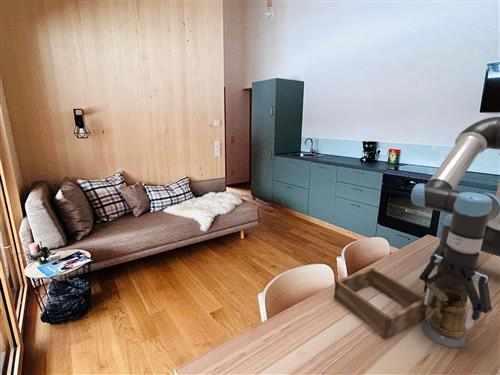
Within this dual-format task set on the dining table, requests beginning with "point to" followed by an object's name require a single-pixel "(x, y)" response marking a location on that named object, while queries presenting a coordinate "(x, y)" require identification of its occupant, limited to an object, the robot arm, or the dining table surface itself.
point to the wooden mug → (448, 312)
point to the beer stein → (448, 285)
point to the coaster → (441, 336)
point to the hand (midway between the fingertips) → (446, 314)
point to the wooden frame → (373, 315)
